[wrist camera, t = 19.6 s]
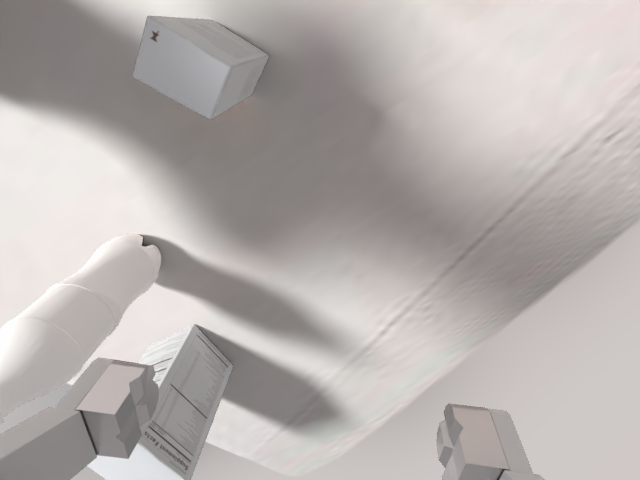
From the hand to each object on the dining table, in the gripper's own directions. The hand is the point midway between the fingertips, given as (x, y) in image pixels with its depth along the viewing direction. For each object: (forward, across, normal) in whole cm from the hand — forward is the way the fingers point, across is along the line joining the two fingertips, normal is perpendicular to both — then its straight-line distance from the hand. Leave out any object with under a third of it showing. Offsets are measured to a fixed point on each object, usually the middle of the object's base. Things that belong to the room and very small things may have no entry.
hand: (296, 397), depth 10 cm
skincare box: (+31, +11, -6) cm, 34 cm away
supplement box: (+31, +19, +34) cm, 50 cm away
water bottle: (+31, +24, +17) cm, 43 cm away
